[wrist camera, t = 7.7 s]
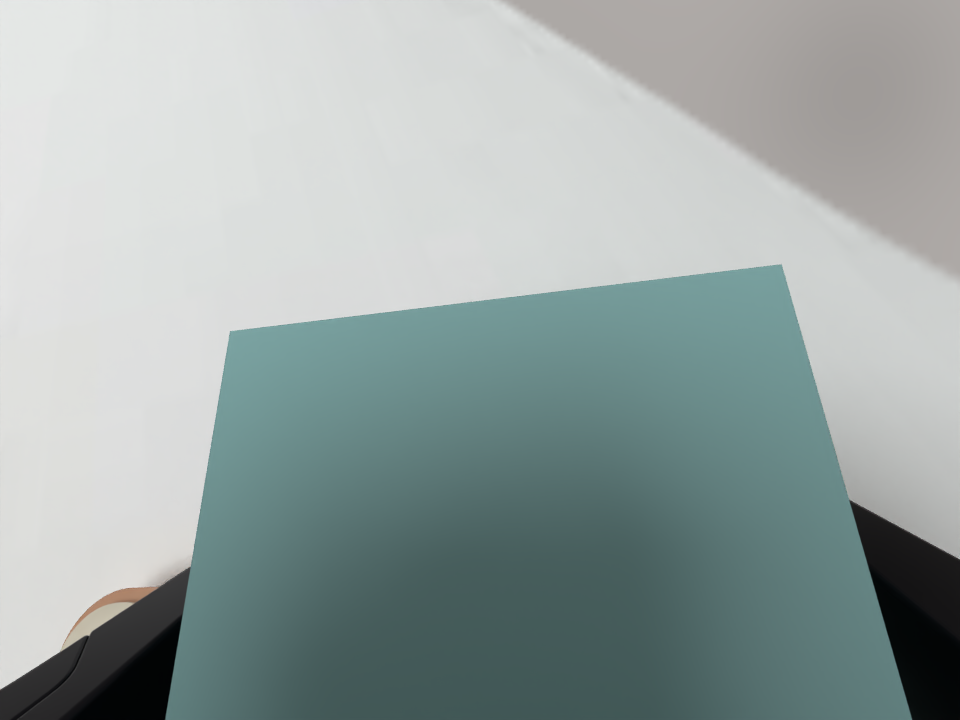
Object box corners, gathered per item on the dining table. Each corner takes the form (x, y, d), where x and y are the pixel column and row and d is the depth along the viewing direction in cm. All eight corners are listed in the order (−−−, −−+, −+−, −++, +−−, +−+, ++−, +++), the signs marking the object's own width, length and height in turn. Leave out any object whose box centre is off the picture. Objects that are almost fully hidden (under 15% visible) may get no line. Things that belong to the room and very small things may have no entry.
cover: (694, 711, 14) (1049, 1205, 3) (456, 708, 15) (108, 1063, 4) (656, 467, 17) (780, 265, 6) (454, 479, 18) (230, 331, 7)
